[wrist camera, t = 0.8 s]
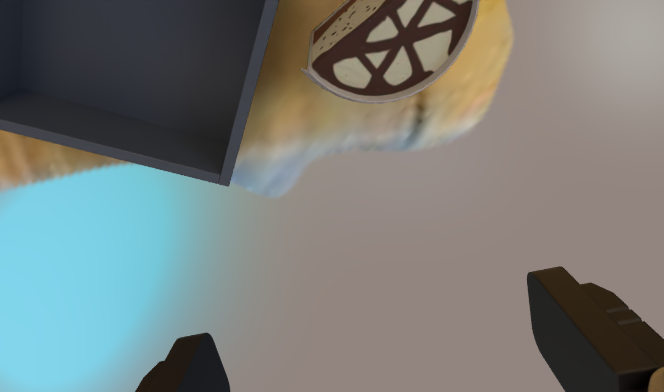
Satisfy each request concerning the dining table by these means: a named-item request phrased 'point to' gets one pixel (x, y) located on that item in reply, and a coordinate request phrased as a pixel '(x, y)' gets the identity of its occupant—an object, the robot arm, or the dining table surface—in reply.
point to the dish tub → (135, 77)
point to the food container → (388, 47)
